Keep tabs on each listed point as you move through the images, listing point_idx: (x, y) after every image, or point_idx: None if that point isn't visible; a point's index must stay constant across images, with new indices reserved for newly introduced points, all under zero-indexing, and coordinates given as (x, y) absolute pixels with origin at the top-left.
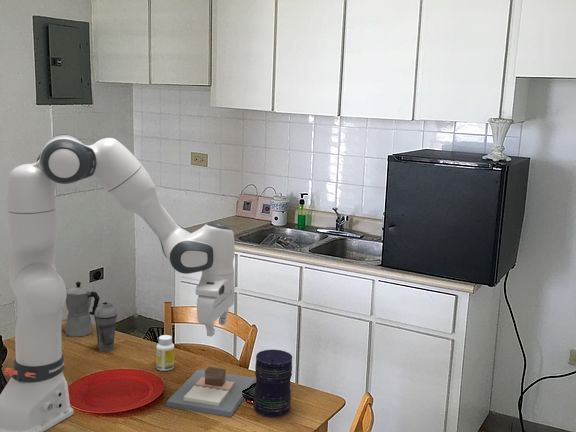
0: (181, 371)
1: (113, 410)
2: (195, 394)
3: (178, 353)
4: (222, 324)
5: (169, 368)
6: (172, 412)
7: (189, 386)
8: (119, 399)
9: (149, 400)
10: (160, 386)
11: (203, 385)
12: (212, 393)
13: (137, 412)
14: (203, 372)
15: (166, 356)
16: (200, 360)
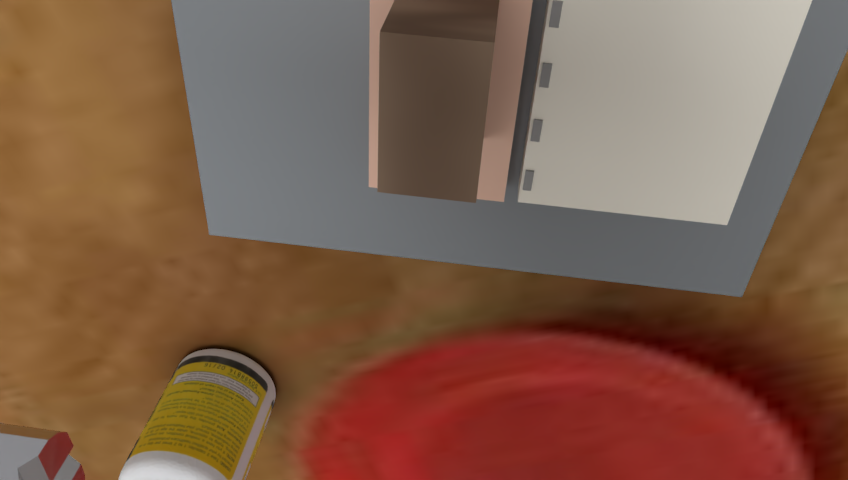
0: (231, 302)
1: (786, 468)
2: (676, 160)
3: (22, 362)
4: (69, 455)
5: (250, 367)
6: (818, 226)
7: (491, 223)
8: (658, 470)
9: (654, 364)
10: (465, 354)
11: (510, 142)
12: (644, 38)
13: (812, 382)
14: (238, 190)
15: (238, 442)
16: (27, 242)
